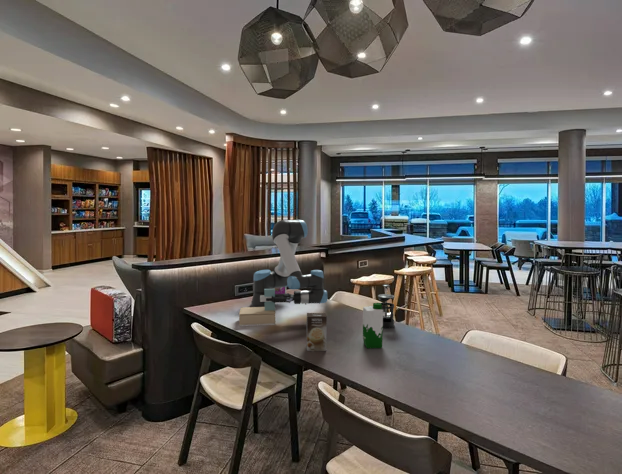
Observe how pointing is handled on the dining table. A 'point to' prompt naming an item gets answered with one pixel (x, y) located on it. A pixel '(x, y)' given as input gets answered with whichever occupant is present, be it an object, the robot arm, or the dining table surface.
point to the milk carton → (373, 326)
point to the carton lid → (267, 309)
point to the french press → (388, 319)
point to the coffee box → (316, 331)
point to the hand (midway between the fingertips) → (260, 298)
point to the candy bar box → (280, 290)
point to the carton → (256, 319)
